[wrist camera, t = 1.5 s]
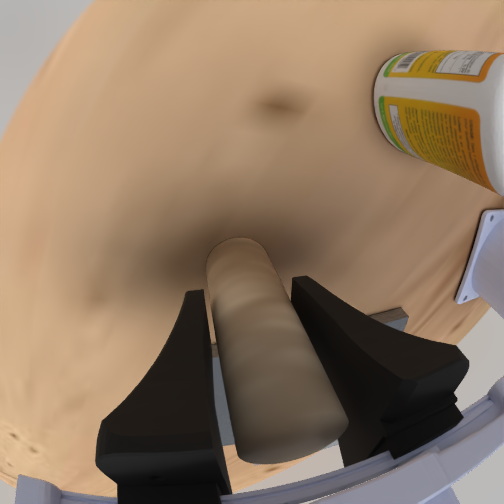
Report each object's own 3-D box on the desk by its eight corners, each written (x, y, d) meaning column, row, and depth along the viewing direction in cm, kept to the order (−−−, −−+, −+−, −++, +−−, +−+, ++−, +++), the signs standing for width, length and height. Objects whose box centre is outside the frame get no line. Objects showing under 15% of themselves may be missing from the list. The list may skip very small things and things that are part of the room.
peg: (268, 234, 14) (361, 398, 6) (268, 287, 15) (336, 448, 8) (202, 241, 13) (233, 429, 6) (208, 295, 15) (240, 470, 7)
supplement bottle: (434, 164, 14) (580, 245, 5) (359, 138, 12) (551, 227, 4) (452, 78, 11) (606, 115, 3) (379, 35, 10) (573, 32, 2)
